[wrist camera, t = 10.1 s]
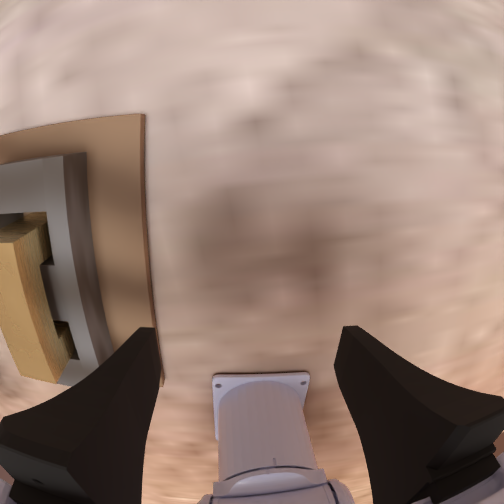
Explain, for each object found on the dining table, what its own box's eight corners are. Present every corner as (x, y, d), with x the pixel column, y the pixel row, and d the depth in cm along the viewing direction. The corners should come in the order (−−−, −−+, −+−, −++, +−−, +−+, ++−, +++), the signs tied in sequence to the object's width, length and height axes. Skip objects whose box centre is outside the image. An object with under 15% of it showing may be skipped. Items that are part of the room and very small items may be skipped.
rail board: (164, 379, 23) (157, 414, 20) (29, 360, 22) (12, 387, 19) (145, 114, 16) (123, 109, 13) (-17, 141, 15) (-51, 147, 11)
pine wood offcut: (86, 330, 20) (56, 383, 15) (55, 326, 20) (20, 375, 14) (65, 211, 17) (12, 242, 11) (31, 212, 17) (-24, 242, 11)
